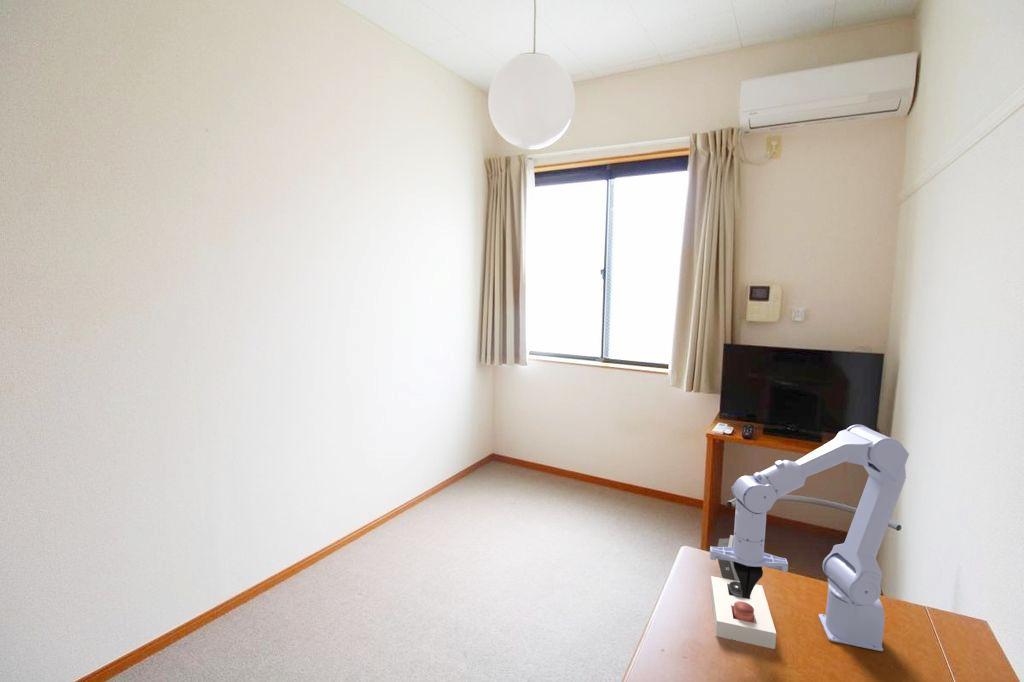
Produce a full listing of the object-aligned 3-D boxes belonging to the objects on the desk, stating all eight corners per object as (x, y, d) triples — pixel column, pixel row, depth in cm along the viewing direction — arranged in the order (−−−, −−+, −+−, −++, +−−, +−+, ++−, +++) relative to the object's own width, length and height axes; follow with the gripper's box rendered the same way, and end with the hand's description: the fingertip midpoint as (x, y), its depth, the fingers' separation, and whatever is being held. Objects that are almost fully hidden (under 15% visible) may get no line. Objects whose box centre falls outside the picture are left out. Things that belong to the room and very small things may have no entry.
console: (761, 599, 111) (762, 585, 111) (775, 649, 96) (776, 633, 96) (710, 589, 115) (711, 576, 114) (716, 636, 100) (717, 620, 99)
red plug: (751, 620, 103) (752, 603, 102) (753, 632, 99) (755, 615, 99) (731, 616, 104) (733, 599, 104) (734, 628, 100) (735, 611, 100)
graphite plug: (745, 599, 110) (746, 583, 110) (748, 609, 107) (749, 593, 106) (727, 595, 112) (728, 580, 111) (729, 606, 108) (730, 590, 108)
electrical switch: (740, 590, 115) (739, 553, 114) (717, 585, 117) (715, 549, 116) (742, 570, 123) (741, 535, 122) (720, 566, 125) (719, 532, 125)
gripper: (784, 531, 101) (779, 590, 102) (710, 520, 105) (706, 577, 107) (792, 548, 94) (787, 612, 96) (712, 536, 98) (709, 597, 100)
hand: (745, 595), depth 101 cm, fingers closed
